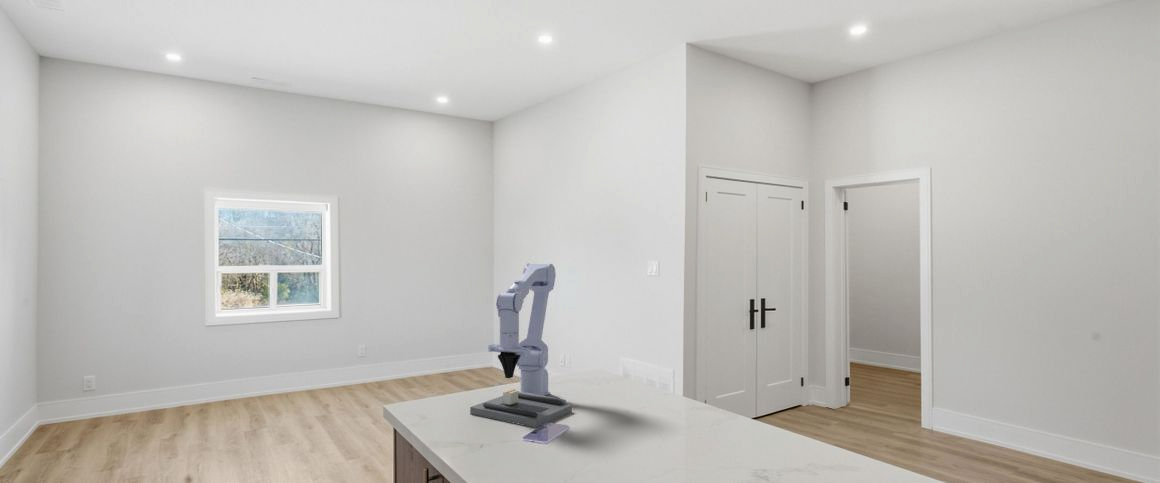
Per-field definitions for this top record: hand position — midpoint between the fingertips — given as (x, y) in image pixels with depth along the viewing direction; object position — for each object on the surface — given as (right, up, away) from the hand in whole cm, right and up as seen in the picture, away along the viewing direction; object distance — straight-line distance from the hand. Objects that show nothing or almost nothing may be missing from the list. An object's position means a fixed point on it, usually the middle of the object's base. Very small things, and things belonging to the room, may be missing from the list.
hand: (509, 377), depth 175 cm
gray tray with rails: (+5, -8, -2) cm, 9 cm away
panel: (+4, -10, -3) cm, 11 cm away
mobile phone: (+12, -10, -21) cm, 27 cm away
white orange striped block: (+1, -7, 0) cm, 7 cm away
